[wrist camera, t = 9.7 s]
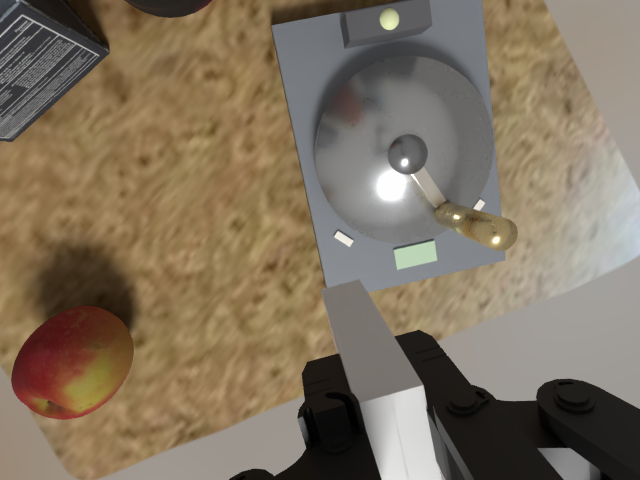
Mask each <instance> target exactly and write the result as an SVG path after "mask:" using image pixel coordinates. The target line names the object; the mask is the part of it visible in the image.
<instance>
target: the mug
mask: <svg viewBox="0 0 640 480" xmlns="http://www.w3.org/2000/svg"><path fill="white" fill-rule="evenodd" d="M125 1H127V2H128V3H129V4H130V5H132V6H134V7H135V8H137V9H139V10H141V11H143V12H145V13H148V14H152V15H155V16H159V17H168V18H173V17H183V16H186V15H189V14H192V13H195V12H197V11H199V10H200V9H202V8H204V7H205V6H207V5H208V4H209V3H210V2H211V1H212V0H125Z"/></svg>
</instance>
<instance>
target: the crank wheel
mask: <svg viewBox="0 0 640 480" xmlns="http://www.w3.org/2000/svg"><path fill="white" fill-rule="evenodd" d="M493 155H494V137H493V129H492V124H491V119H490V116H489V113H488V110H487V108H486V106H485V104H484V102H483V100H482V98H481V96H480V95H479V93H478V92H477V90H476V89H475V87H474V86H473V85H472V84H471V83H470V82H469V81H468V80H467V79H466V78H465V77H464V76H463V75H461V74H460V73H459V72H458V71H456V70H455V69H453V68H451V67H450V66H448V65H446V64H444V63H442V62H439V61H437V60H433V59H430V58H426V57H418V56H399V57H394V58H388V59H385V60H382V61H379V62H376V63H374V64H372V65H370V66H368V67H366V68H364V69H363V70H361V71H360V72H358V73H357V74H355V75H354V76H353V77H352V78H351V79H350V80H348V81H347V82H346V83H345V84H344V85H343V86H342V87H341V88H340V89H339V90H338V92H337V93H336V94H335V95H334V96H333V98H332V99H331V101H330V102H329V104H328V105H327V107H326V109H325V111H324V113H323V115H322V118H321V120H320V123H319V126H318V129H317V134H316V139H315V149H314V159H315V169H316V174H317V179H318V182H319V185H320V188H321V190H322V192H323V194H324V196H325V199H326V200H327V202H328V203H329V205H330V206H331V208H332V209H333V210H334V211H335V212H336V214H337V215H338V216H339V217H340V218H341V219H342V220H343V221H344V222H345V223H346V224H347V225H349V226H350V227H351V228H353V229H354V230H356V231H357V232H359V233H361V234H363V235H365V236H367V237H369V238H372V239H375V240H378V241H382V242H387V243H397V244H404V243H414V242H419V241H424V240H426V239H429V238H432V237H435V236H437V235H439V234H441V233H443V232H445V231H446V230H448V229H450V230H452V231H454V232H456V233H459V234H461V235H463V236H465V237H467V238H469V239H472V240H474V241H476V242H478V243H480V244H482V245H485V246H487V247H489V248H491V249H493V250H496V251H504V250H506V249H508V248H510V247H511V246H512V245H513V244H514V243H515V241H516V238H517V233H518V232H517V227H516V225H515V224H514V223H513V222H512V221H511V220H509V219H506V218H502V217H499V216H496V215H492V214H489V213H486V212H482V211H479V210H476V209H472V207H473V206H474V204H475V203H476V202H477V200H478V199H479V197H480V195H481V193H482V192H483V190H484V187H485V185H486V183H487V180H488V178H489V174H490V171H491V167H492V161H493Z"/></svg>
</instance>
